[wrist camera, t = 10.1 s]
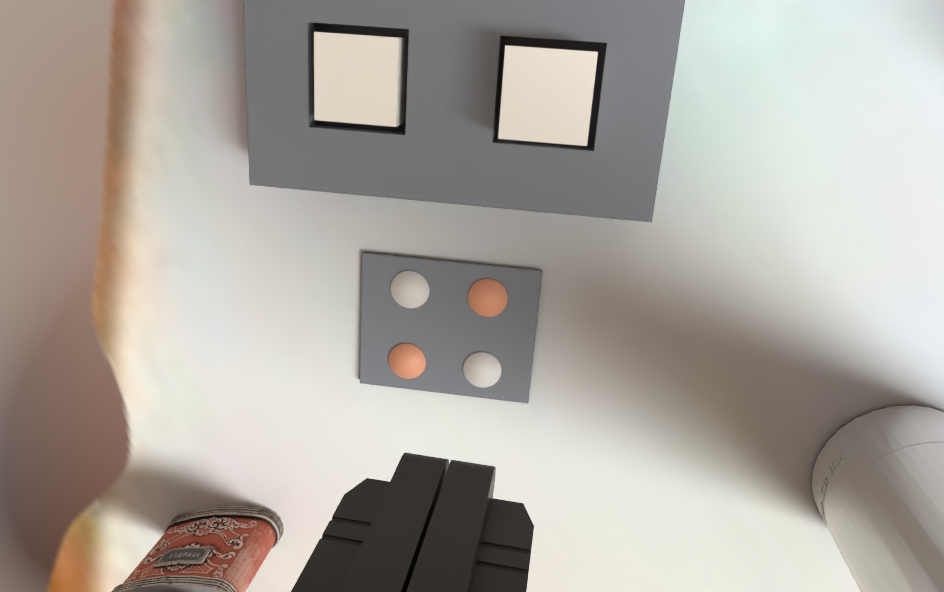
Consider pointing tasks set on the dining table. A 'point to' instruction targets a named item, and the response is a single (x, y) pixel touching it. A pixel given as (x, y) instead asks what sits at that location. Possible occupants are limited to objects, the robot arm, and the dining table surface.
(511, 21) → the button box
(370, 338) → the pattern card
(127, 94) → the dining table surface
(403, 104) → the button
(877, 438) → the robot arm
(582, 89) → the button
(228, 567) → the lighter
